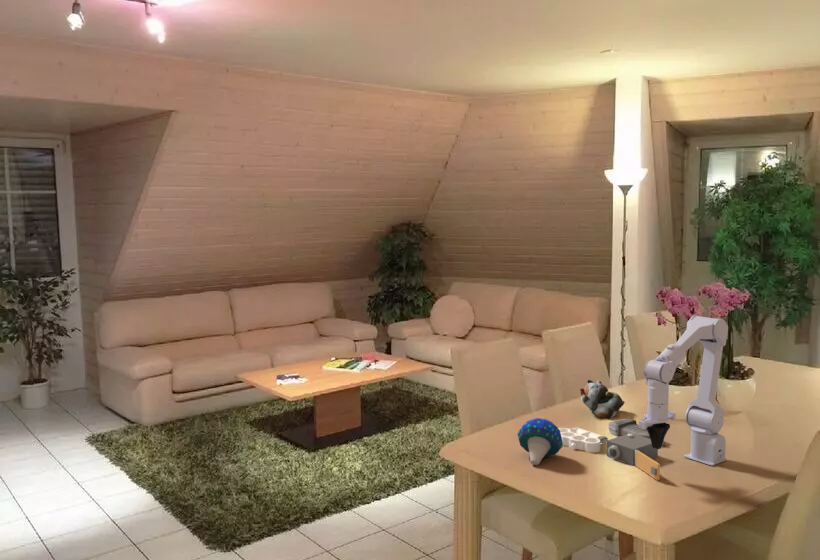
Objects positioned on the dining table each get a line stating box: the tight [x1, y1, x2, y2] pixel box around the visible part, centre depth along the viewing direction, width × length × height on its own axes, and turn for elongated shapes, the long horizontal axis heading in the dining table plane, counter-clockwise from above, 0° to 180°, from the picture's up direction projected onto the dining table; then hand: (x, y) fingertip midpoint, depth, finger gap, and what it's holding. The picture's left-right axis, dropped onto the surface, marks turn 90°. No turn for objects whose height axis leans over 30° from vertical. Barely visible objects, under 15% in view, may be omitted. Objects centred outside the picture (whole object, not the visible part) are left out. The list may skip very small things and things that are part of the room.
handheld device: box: [607, 418, 665, 444], centre depth 232 cm, size 10×20×5 cm, turn 33°
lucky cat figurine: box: [579, 379, 626, 420], centre depth 260 cm, size 15×12×14 cm
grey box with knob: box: [606, 433, 659, 467], centre depth 215 cm, size 10×13×6 cm
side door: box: [634, 450, 661, 481], centre depth 202 cm, size 2×12×5 cm, turn 13°
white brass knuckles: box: [558, 426, 609, 453], centre depth 228 cm, size 3×18×15 cm
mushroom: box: [517, 417, 563, 466], centre depth 214 cm, size 14×14×15 cm
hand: (656, 447), depth 200 cm, fingers closed
